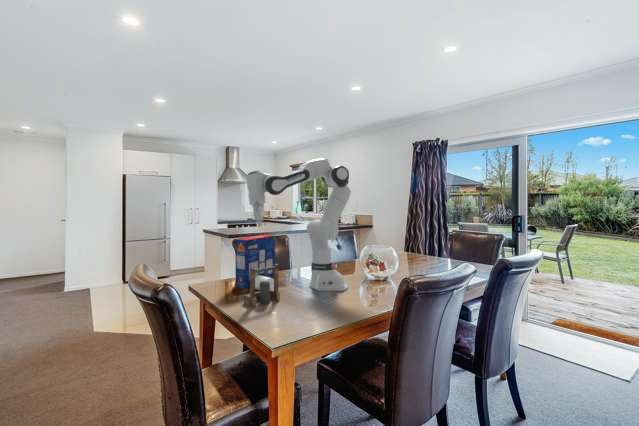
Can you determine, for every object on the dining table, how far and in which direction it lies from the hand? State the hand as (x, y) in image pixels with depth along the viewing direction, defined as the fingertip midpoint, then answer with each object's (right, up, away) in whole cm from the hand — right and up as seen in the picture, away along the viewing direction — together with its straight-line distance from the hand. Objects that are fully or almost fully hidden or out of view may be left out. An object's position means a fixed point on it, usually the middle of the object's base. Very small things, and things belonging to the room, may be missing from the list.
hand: (260, 224), depth 179 cm
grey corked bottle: (+6, -38, -22) cm, 44 cm away
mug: (+4, -37, 0) cm, 37 cm away
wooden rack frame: (+5, -38, -20) cm, 43 cm away
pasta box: (-5, -36, +15) cm, 40 cm away
